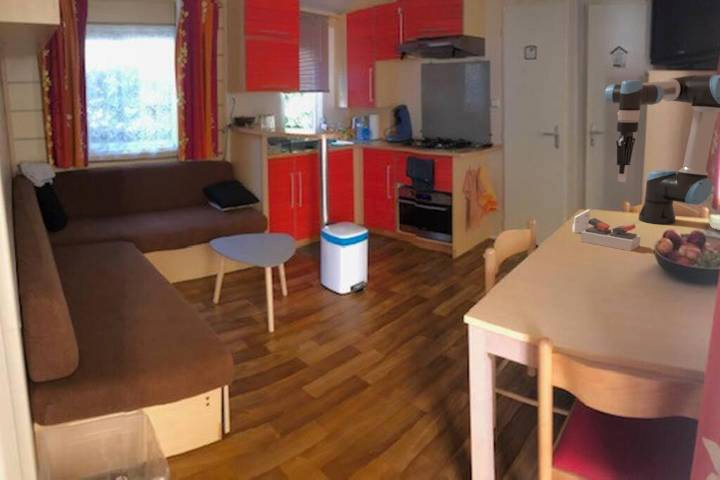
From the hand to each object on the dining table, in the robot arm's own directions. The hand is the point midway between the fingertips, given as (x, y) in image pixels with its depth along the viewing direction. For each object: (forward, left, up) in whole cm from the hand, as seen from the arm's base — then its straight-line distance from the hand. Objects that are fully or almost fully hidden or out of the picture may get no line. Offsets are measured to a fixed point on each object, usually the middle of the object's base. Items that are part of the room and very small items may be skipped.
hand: (621, 181), depth 240 cm
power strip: (+6, 0, -24) cm, 25 cm away
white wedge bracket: (-4, -17, -25) cm, 30 cm away
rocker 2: (+6, +5, -19) cm, 20 cm away
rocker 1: (+6, -5, -19) cm, 20 cm away
